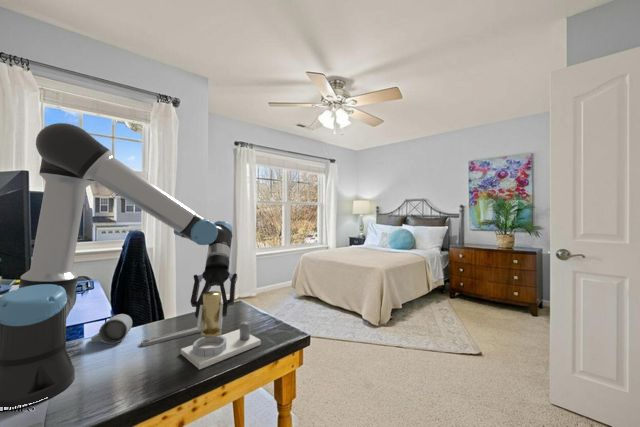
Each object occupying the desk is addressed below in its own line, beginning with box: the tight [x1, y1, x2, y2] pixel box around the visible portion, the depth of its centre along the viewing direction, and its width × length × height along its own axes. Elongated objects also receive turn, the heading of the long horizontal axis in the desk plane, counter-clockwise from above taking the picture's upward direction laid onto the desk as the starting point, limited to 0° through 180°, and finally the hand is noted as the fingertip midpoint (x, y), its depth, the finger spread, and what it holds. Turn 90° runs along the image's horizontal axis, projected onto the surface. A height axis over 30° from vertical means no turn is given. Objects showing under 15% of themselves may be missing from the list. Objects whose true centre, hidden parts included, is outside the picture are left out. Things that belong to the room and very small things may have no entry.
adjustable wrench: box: [140, 323, 203, 347], centre depth 98 cm, size 25×6×2 cm, turn 125°
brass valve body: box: [200, 290, 223, 338], centre depth 86 cm, size 6×6×12 cm
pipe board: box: [180, 320, 262, 370], centre depth 88 cm, size 20×12×6 cm, turn 138°
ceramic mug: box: [90, 313, 133, 345], centre depth 94 cm, size 11×8×8 cm
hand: (209, 327), depth 82 cm, fingers closed on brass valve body, 5 cm apart
